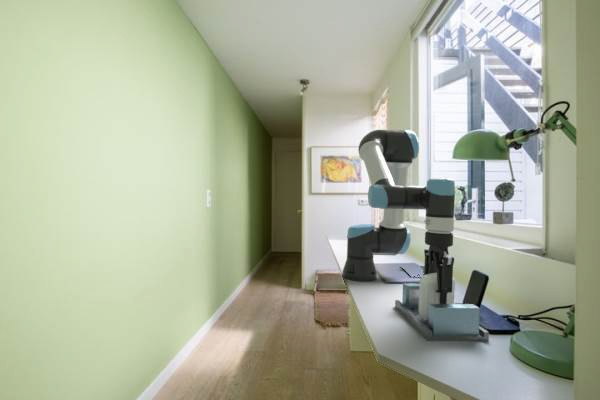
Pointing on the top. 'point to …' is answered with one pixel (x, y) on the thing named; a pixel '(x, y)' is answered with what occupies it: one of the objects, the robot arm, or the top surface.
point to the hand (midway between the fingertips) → (436, 310)
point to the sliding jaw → (410, 295)
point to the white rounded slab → (431, 293)
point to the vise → (447, 322)
